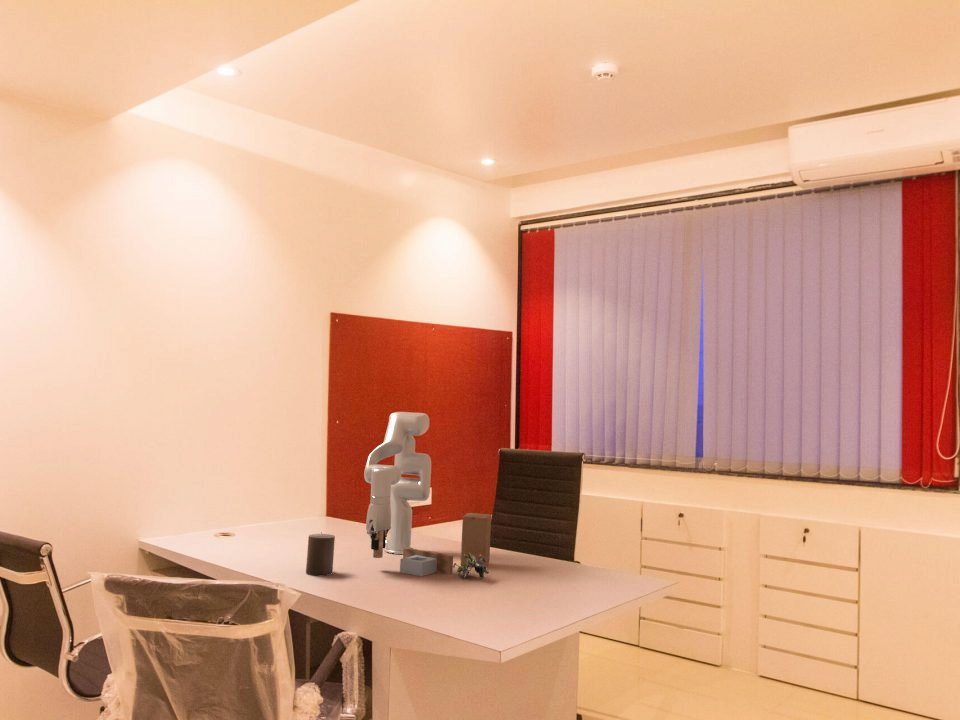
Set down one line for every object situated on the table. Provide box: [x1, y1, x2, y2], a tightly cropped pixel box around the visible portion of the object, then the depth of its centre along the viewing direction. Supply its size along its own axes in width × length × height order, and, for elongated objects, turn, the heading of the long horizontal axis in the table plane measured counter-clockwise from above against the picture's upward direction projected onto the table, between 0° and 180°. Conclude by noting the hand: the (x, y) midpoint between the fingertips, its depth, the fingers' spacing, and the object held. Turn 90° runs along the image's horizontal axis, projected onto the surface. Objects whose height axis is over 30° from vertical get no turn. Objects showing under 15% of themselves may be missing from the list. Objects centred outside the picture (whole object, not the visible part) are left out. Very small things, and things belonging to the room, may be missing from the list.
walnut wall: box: [402, 547, 454, 575], centre depth 297 cm, size 22×2×7 cm, turn 59°
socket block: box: [399, 555, 438, 577], centre depth 292 cm, size 10×10×5 cm
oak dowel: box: [372, 530, 384, 559], centre depth 292 cm, size 4×4×12 cm
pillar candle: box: [305, 532, 336, 576], centre depth 285 cm, size 10×10×15 cm
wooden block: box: [459, 512, 492, 568], centre depth 311 cm, size 10×10×20 cm
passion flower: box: [453, 553, 490, 580], centre depth 287 cm, size 11×11×12 cm
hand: (378, 548), depth 292 cm, fingers closed on oak dowel, 3 cm apart
